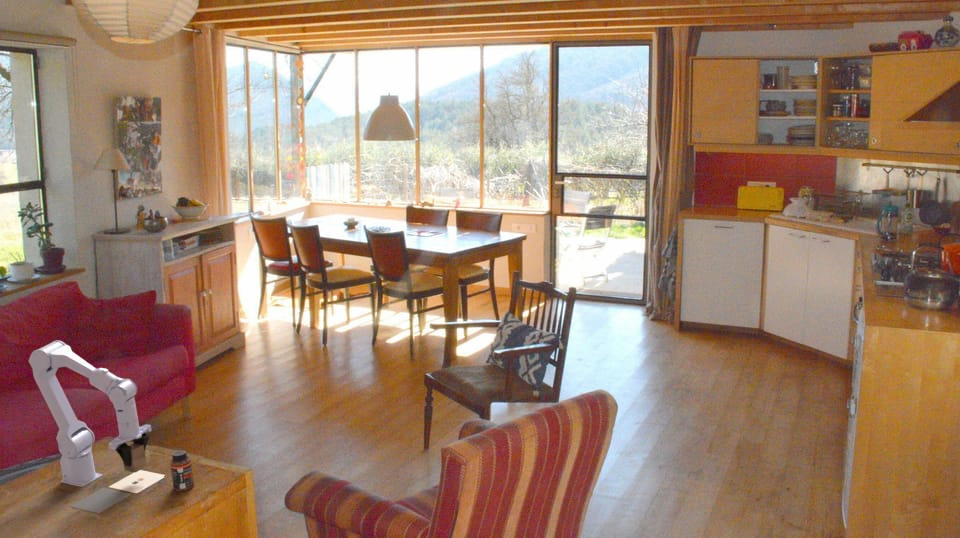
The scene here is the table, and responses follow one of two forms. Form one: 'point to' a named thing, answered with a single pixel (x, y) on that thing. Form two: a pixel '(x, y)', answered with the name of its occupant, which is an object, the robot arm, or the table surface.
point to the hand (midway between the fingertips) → (134, 462)
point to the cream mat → (137, 481)
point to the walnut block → (136, 458)
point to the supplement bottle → (181, 471)
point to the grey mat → (100, 500)
